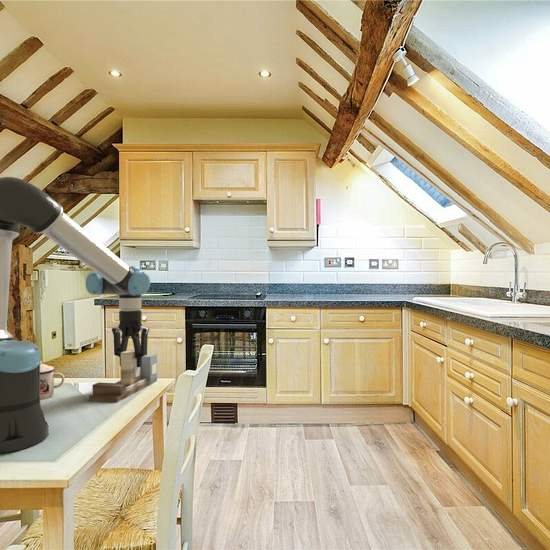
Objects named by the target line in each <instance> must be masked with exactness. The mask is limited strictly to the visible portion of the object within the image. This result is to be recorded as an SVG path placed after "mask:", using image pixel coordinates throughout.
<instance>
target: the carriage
mask: <svg viewBox="0 0 550 550" xmlns="http://www.w3.org/2000/svg"><path fill="white" fill-rule="evenodd" d="M135 357H136V355H135V350H134V349H127V350H126V351H124V352H121V366H120V381H121V384H126V385H132V384H134V383H136V382H138V381H140V375H139V376H137V377H134V358H135Z"/></svg>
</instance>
